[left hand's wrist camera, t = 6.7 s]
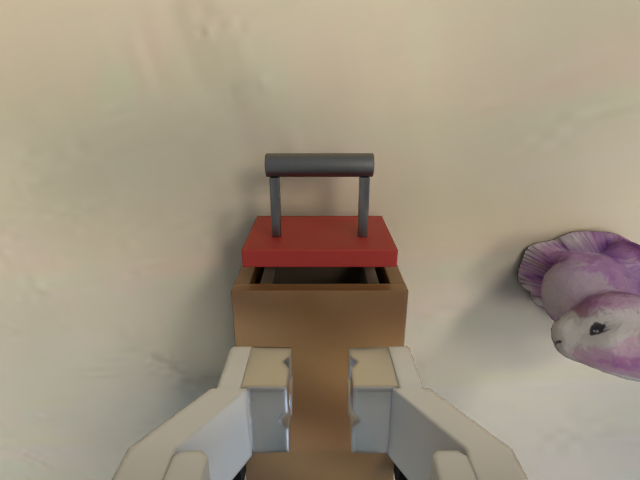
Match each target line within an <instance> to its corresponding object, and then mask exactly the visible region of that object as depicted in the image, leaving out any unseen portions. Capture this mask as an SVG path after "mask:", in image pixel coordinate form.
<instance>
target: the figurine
mask: <svg viewBox="0 0 640 480" xmlns="http://www.w3.org/2000/svg"><path fill="white" fill-rule="evenodd" d="M517 276H518V281H519V283H520V284H521V286H522V287H523V288H525V289H526V290H528V291H530V293H531V295H530V296H531V298H532V300H533V301H534V303H535V304H537V305H539V306H541V307H543V308H545V310H546V312H547V313H548V315H549V316H550V317H551V318H552V319H553V320H554V321H555V322H554V324H553V325H552V328H551V337H552V340H553V343H554V346H555V348H556V349H557V351H558V352H560V353H561V354H562V355H563V356H565V357H567V358H569V359H571V360H574V361H577V362H579V363H582V364H585V365H588V366H590V367H592V368H595V369H598V370H600V371H602V372H605V373H608V374H612V375H615V376H618V377H621V378H624V379H627V380H633V381H638V382H640V245H639V244H636V243H633V242H631V241H629V240H628V239H626V238H624V237H622V236H620V235H617V234H613V233H608V232H594V231H579V232H570V233H568V234H566V235H563V236H561V237H559V238H557V239H555V240H550V241H545V242H539V243H535V244H533V245H530V246H529V247H528V249H527V250H526V251H525V253H524V256H523V259H522V262H521V265H520V268H519V271H518V275H517Z"/></svg>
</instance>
